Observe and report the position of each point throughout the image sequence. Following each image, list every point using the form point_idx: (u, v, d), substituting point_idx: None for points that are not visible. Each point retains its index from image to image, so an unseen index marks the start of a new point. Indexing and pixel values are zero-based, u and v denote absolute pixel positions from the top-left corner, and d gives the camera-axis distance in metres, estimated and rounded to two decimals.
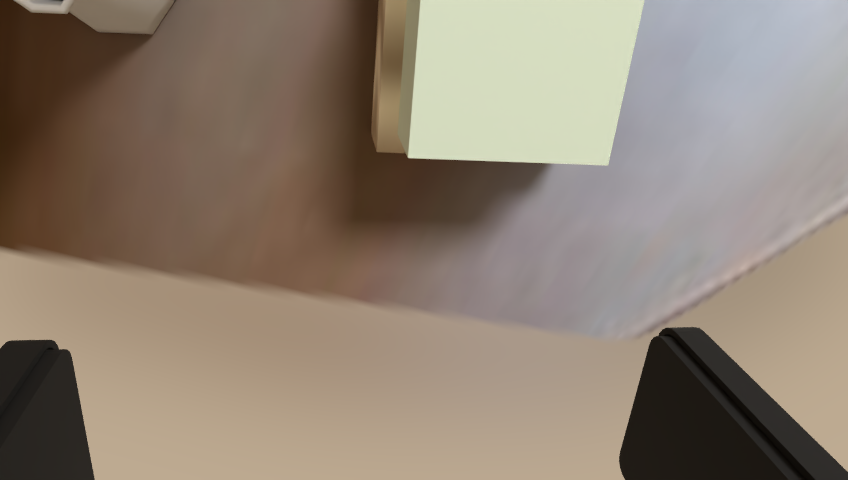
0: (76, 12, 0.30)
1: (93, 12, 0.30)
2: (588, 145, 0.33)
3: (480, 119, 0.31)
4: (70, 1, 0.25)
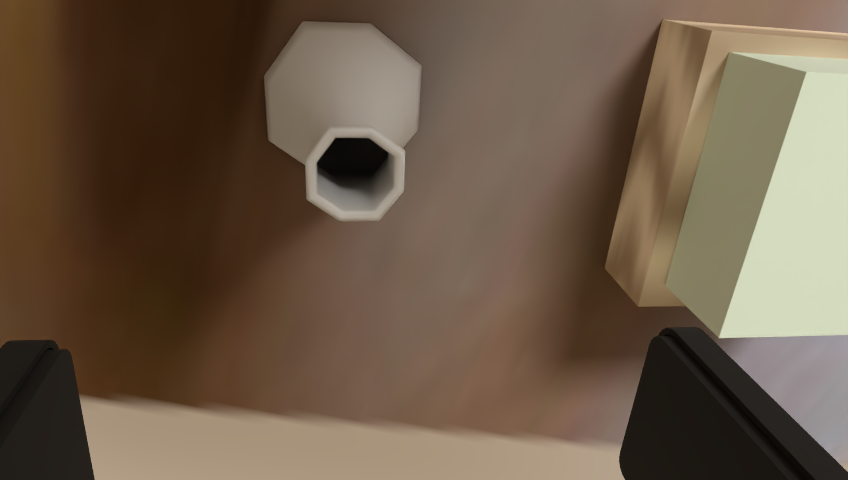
0: (333, 178, 0.25)
1: None
2: None
3: (810, 292, 0.26)
4: (388, 206, 0.20)
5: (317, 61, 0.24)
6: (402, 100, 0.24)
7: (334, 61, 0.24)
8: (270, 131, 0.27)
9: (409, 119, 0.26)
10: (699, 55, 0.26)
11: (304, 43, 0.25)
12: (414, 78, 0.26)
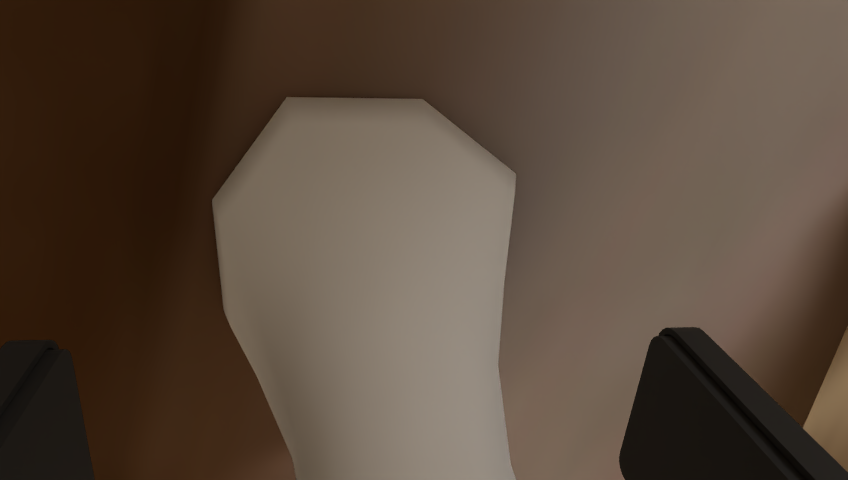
0: None
1: None
2: None
3: None
4: None
5: (317, 203, 0.11)
6: (503, 285, 0.11)
7: (354, 203, 0.11)
8: (226, 304, 0.14)
9: None
10: None
11: (290, 150, 0.12)
12: (511, 211, 0.13)
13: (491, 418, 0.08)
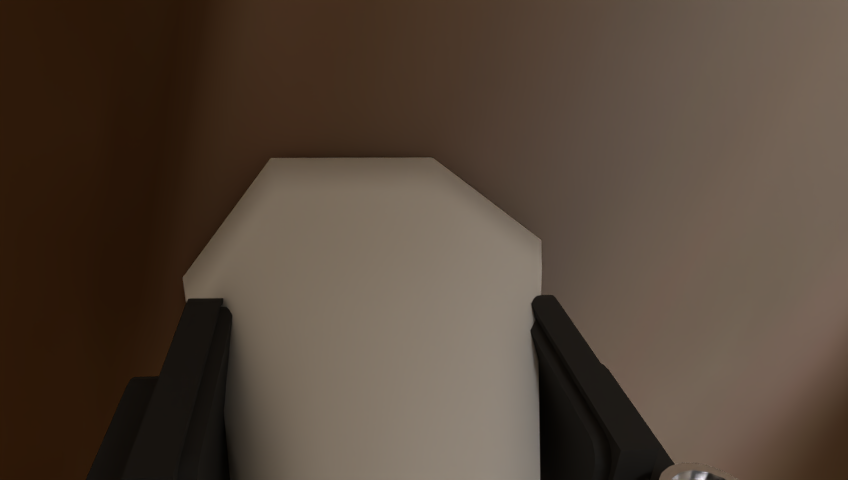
0: None
1: None
2: None
3: None
4: None
5: (306, 303, 0.09)
6: (537, 400, 0.09)
7: (352, 303, 0.08)
8: None
9: None
10: None
11: (273, 226, 0.10)
12: (540, 292, 0.11)
13: None
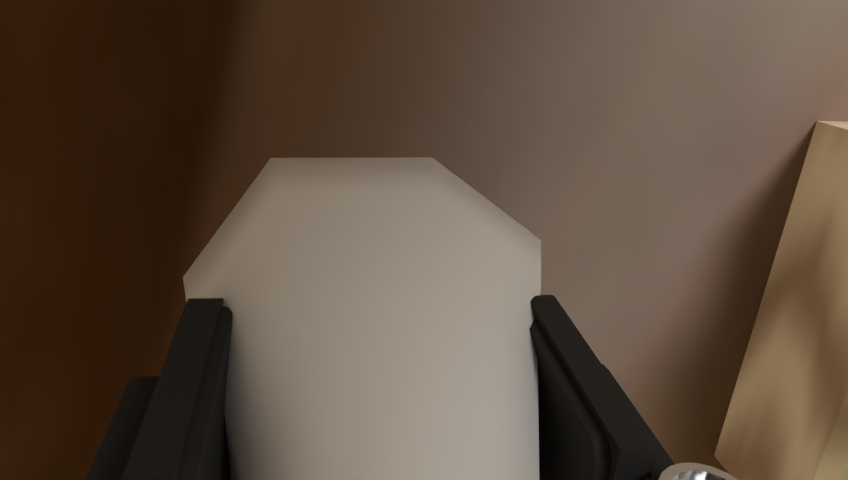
0: None
1: None
2: None
3: None
4: None
5: (306, 302, 0.09)
6: (537, 399, 0.09)
7: (352, 303, 0.09)
8: None
9: None
10: None
11: (274, 227, 0.10)
12: (539, 292, 0.11)
13: None
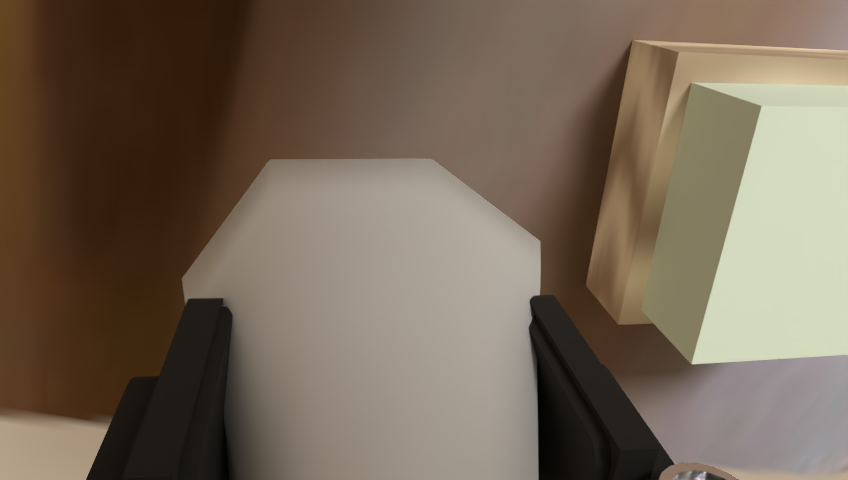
0: None
1: None
2: None
3: (780, 316, 0.26)
4: None
5: (305, 304, 0.09)
6: (536, 401, 0.09)
7: (351, 305, 0.08)
8: None
9: None
10: (667, 76, 0.26)
11: (273, 228, 0.10)
12: (539, 293, 0.11)
13: None
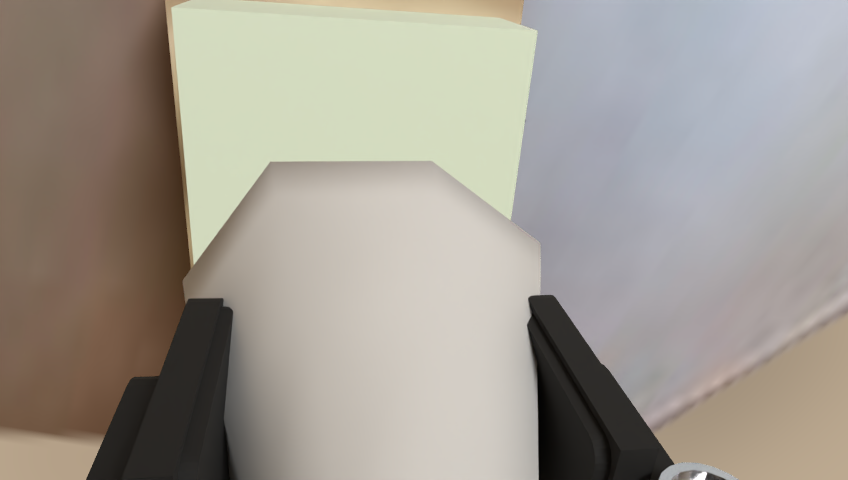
0: None
1: None
2: None
3: None
4: None
5: (306, 307, 0.09)
6: (536, 404, 0.09)
7: (351, 307, 0.09)
8: None
9: None
10: None
11: (273, 231, 0.10)
12: None
13: None
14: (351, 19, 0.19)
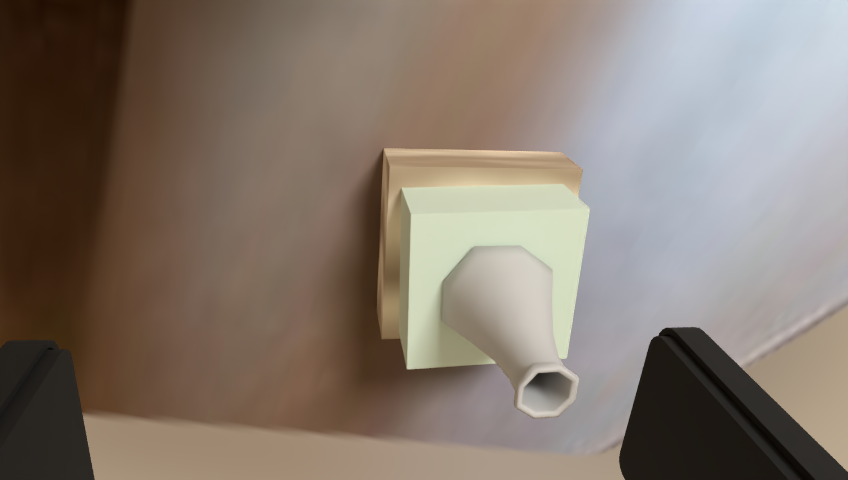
0: None
1: None
2: None
3: (462, 338, 0.40)
4: (564, 409, 0.31)
5: (495, 287, 0.35)
6: None
7: (507, 287, 0.35)
8: (446, 317, 0.38)
9: None
10: (388, 179, 0.40)
11: (480, 267, 0.36)
12: (552, 285, 0.37)
13: (553, 346, 0.32)
14: (496, 211, 0.37)
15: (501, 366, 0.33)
